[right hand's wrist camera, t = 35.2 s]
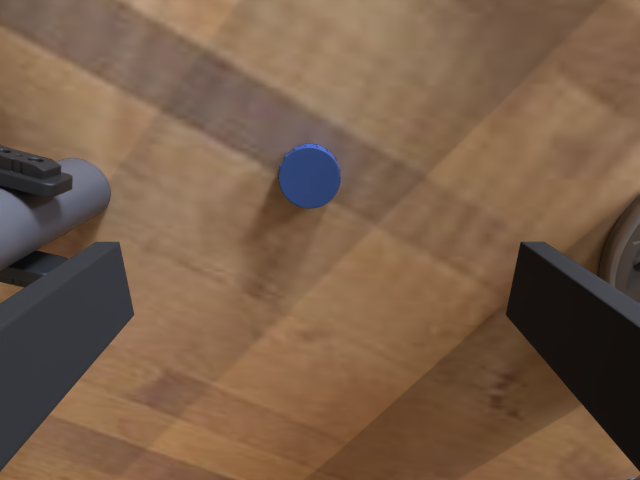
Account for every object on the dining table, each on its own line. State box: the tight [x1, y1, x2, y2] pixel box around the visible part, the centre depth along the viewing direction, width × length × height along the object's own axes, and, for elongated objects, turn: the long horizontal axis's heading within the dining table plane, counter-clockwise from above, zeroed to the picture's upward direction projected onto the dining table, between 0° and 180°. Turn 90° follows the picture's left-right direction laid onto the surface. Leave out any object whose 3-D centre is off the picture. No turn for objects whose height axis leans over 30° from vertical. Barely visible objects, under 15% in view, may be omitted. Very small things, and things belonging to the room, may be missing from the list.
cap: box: [278, 143, 340, 208], centre depth 26 cm, size 4×4×2 cm
